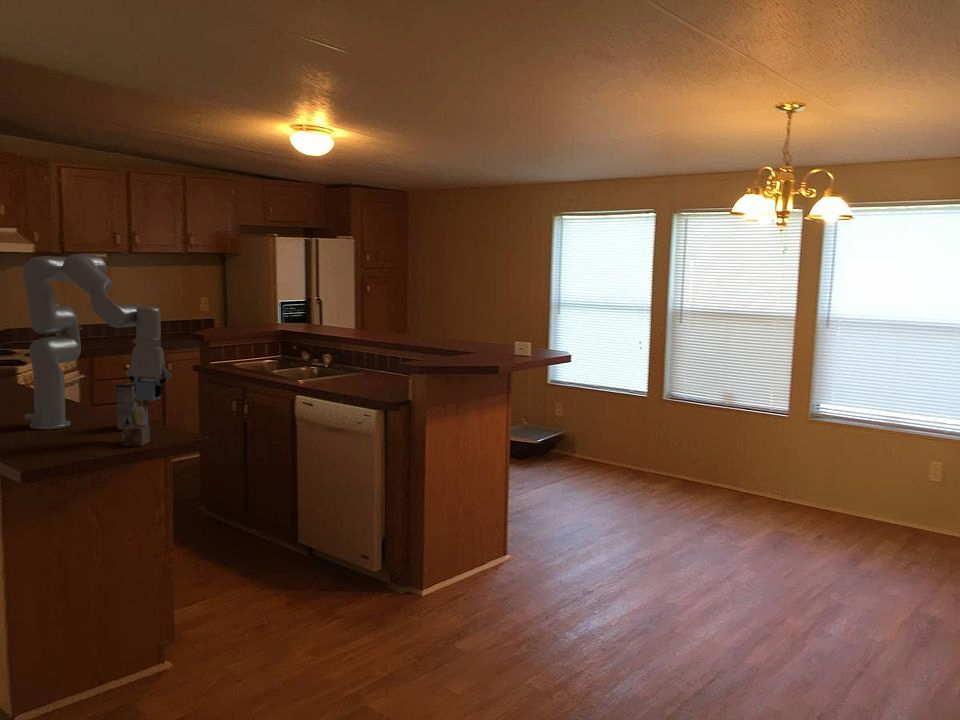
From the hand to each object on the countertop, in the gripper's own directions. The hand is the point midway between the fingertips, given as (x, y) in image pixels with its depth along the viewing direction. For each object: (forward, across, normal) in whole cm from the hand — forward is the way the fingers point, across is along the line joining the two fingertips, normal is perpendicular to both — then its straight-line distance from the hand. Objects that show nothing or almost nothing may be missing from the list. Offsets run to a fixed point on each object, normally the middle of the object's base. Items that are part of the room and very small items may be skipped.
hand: (148, 395), depth 260 cm
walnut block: (+15, +1, -10) cm, 18 cm away
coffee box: (+15, -11, +14) cm, 23 cm away
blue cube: (+1, 0, 0) cm, 1 cm away
